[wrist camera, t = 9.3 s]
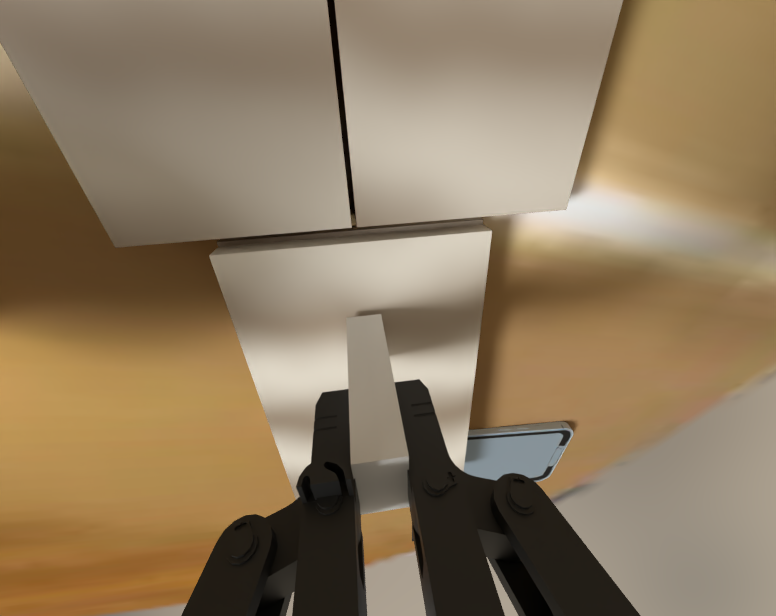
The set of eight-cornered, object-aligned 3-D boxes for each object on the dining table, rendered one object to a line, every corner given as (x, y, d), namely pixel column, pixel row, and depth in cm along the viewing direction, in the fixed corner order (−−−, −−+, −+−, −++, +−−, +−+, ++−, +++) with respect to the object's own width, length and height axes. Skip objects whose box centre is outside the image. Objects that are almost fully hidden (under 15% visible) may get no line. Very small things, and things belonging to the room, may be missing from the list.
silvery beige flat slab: (221, 237, 13) (207, 250, 12) (477, 216, 14) (492, 225, 12) (306, 496, 23) (303, 520, 21) (453, 473, 23) (460, 495, 22)
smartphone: (376, 441, 22) (577, 426, 23) (375, 430, 22) (570, 416, 24) (375, 497, 26) (547, 481, 27) (375, 485, 26) (541, 470, 28)
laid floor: (-174, -395, 6) (-329, -545, 4) (666, -333, 7) (740, -433, 6) (139, 232, 12) (115, 247, 11) (544, 199, 14) (566, 209, 12)
